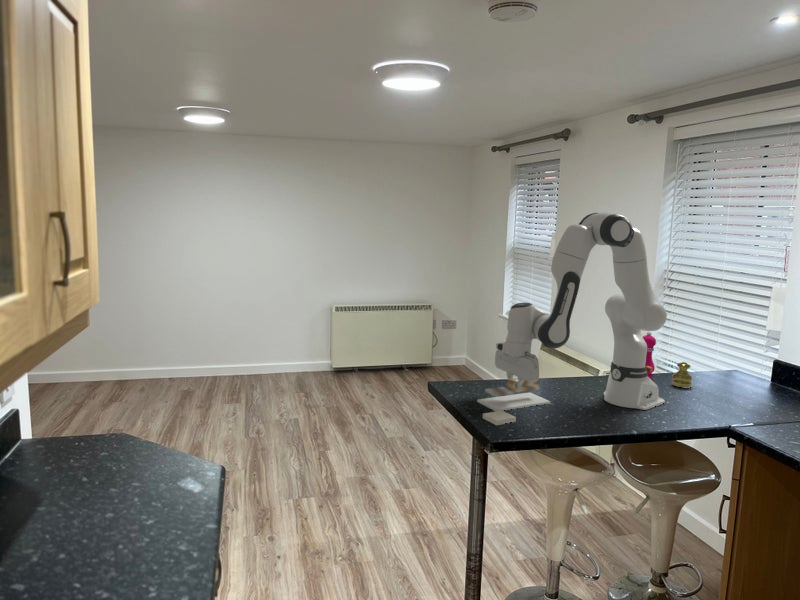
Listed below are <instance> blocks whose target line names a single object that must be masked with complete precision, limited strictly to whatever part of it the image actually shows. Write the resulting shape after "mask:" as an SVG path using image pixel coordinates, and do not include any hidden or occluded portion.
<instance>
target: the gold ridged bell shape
mask: <svg viewBox="0 0 800 600" xmlns="http://www.w3.org/2000/svg"><path fill="white" fill-rule="evenodd" d="M676 366H677V367H678V369H679V370H678V371H676V372H675V373H673V374H672V375H671V376H672V379H671V385H672V384H673V385H675V386H678V387H687V388H688V387H691V388H692V381H693V376H692V375H690V373H689V372H688V370H689V369H690V368H691V367H692V366H691V364H689V363H687V362H684V361H681V362H679V363H677V364H676ZM673 385H672V386H673Z"/></svg>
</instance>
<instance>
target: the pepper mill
mask: <svg viewBox="0 0 800 600" xmlns="http://www.w3.org/2000/svg"><path fill="white" fill-rule="evenodd" d="M642 337H643V339H644V340H645V342H646V344H647V354H646V362H645V366H646V367H647V366H649V367H653V371H652V372H648V371H647V374H648V377H649V378H650V379H651V380H653V373H654V372H655V370H656V369H655V363H654V360H653V352H654V351H655V346H656V345H657V340H656V338H655V337H654V335H652V331H647V332H646V335H642Z"/></svg>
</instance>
